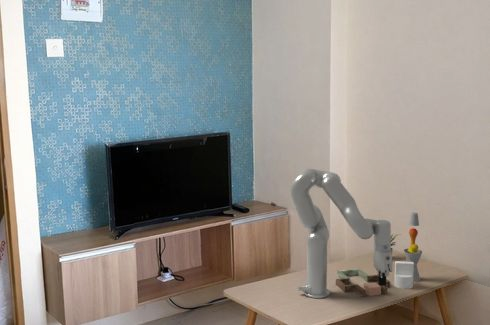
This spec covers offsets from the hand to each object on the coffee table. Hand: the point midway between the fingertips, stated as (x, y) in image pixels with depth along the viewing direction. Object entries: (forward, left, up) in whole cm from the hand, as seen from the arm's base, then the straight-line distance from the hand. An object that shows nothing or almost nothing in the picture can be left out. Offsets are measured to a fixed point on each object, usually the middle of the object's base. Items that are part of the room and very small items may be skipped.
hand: (382, 284), depth 268 cm
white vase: (+19, +13, -7) cm, 24 cm away
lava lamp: (+28, +20, -7) cm, 35 cm away
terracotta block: (0, +9, -7) cm, 11 cm away
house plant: (+33, +53, -7) cm, 63 cm away
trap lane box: (-1, +20, -7) cm, 21 cm away
